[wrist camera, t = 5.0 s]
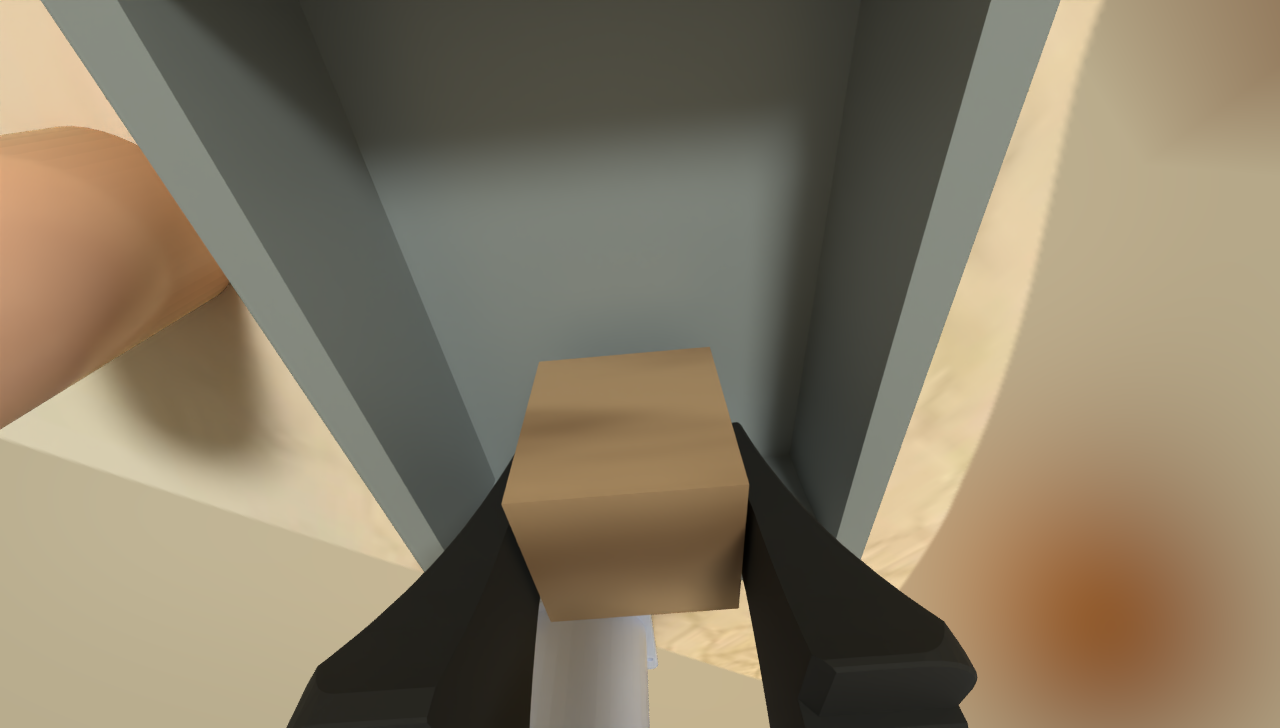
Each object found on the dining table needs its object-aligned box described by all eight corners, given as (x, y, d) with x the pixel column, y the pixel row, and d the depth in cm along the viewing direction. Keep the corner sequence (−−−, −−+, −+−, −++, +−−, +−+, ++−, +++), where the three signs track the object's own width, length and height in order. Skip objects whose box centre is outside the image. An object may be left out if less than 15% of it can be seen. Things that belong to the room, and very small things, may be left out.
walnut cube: (709, 464, 16) (738, 608, 12) (569, 475, 16) (550, 621, 12) (709, 346, 13) (748, 484, 9) (539, 361, 13) (500, 504, 9)
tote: (806, 459, 19) (856, 571, 15) (481, 485, 19) (444, 602, 15) (927, -182, 9) (1197, -383, 5) (222, -100, 9) (-107, -220, 5)
